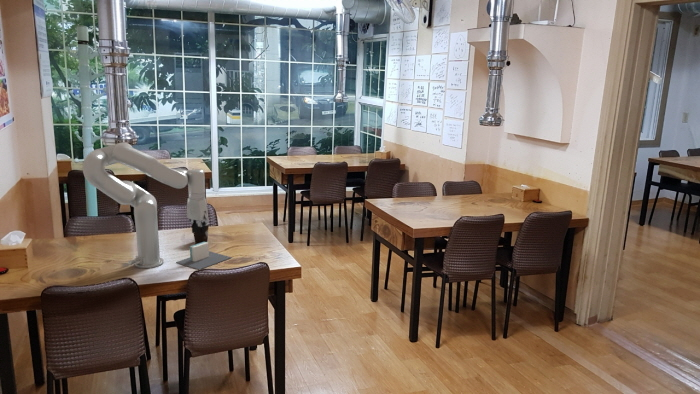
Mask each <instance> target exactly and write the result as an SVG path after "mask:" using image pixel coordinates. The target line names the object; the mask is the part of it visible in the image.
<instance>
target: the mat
mask: <svg viewBox="0 0 700 394" xmlns="http://www.w3.org/2000/svg"><path fill="white" fill-rule="evenodd" d="M230 259H232V257H231V256H228V255H225V254H221V253H217V252H214V251H210V250H209V257H206V258H204V259H201V260H198V261H195V262H194V261H191V260H190V257H187V258H184V259H181V260H179V261H176V262H175V263H176V264H179V265H182V266H185V267H188V268H192V269H194V270H197V271H200V270H199V269H201V270H204V269H206V268H209V267H211V266H214V265H217V264H220V263H222V262H225V261H227V260H230Z"/></svg>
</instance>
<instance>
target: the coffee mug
mask: <svg viewBox="0 0 700 394" xmlns="http://www.w3.org/2000/svg"><path fill="white" fill-rule="evenodd" d="M197 223H198V232H195V233H193V238H194V243H195V245H196V244H199V243H202V242H207V243H208V242H209V241H208V238H209V237H208V236H209V227H210V225H209V224H210V223H209V222H208V223H207V224H206V226H205V234H202V235H200V234H199V227H200V223H199V221H197ZM197 223H196V224H197ZM202 223H203V221H202Z"/></svg>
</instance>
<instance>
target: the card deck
mask: <svg viewBox="0 0 700 394" xmlns="http://www.w3.org/2000/svg"><path fill="white" fill-rule="evenodd" d="M209 245H210V242H208V241H207V242H202V243H199V244H196V243H195V244H193V245H190V246H189V256H190V257H189V258H190V260H191V261H194V262H195V261H198V260H201V259H204V258H206V257H209V251H210V246H209Z"/></svg>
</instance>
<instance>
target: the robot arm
mask: <svg viewBox="0 0 700 394" xmlns="http://www.w3.org/2000/svg"><path fill="white" fill-rule="evenodd" d="M118 163H119V164H120V165H123V166H125V167H128V168H130V169H133V170H135V171H138V172H140V173H143V174H144V175H146V176H147V177H150V178H152V179H154V180H156V181H158V182H160V183H162V184H165V185H167V186H170V187H172V188H175V189H178V190H179V189H183V188H185V187H186V186H188V187H187V189H188V194H187V195H188V198H187V202H186V218H188V220H189V221H190V225H191V233H195V232H198V223H197V222H199V223H200V227H199V234H200V235H202V234H205V226H206V224H207V223H209V222H210V219H209V214H208V213H209V210H208V203H207V199H206V178H205V171H204V170H203V169H199V168H196V169H194V168H193V169H184V168H183V169H182V168H176V169H173V168H171V167H169V166H166V165H165V164H163V163H162V162H161V161H159V160H158V159H157V158H156V157H155V156H152V155H150V154H148V153H147V152H143V151H141V150H139V149H136V148H134V147H133V146H132V145H131V144H129V143H128V142H118V143H115V144H111V145H108V146H104V147H101V148H97V149H93V150H92V151H90V152H89V153H88V154H86V156H85V158H84V160H83V163H82V173H83V176H84V178H85V179H86V181H87V182H88V183H89V184H90V185H91V186H93V187H94V188H96V189H97V190H99V191H100V192H102V194H105V195H106V196H107V197H109V198H111V199H113V201H115V202H117V203H118V204H119V205H124V206H125V205H126V206H127V205H129V206H131V207H133V215H134V223H135V224H134V225H135V233H136V234H135V235H136V237H135V238H136V249H137V255H136V256H135V258H134V259H131V260H128V265H130V266H131V265H134V266H135V267H136V268H140V269H151V268H156V267H159V266H161V265H163V264H164V258H162V257H161V255H160V252H161V251H160V239H159V237H160V236H159V226H158V204H157V203H158V202H157V199H156V197H155V196H154V195H153V194H151V193H150V192H148V191H147V190H145V189H144V188H142V187H140V186H139V185H138V184H136V183H135V182H133V181H130V180H121V179H119V178H117V177H116V176H114V175H113V174H111V173H109V172H108V171H107V170H106V169H105V168H106V167H108V166H112V165H115V164H118ZM202 222H203V223H202ZM196 223H197V224H196Z"/></svg>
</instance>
